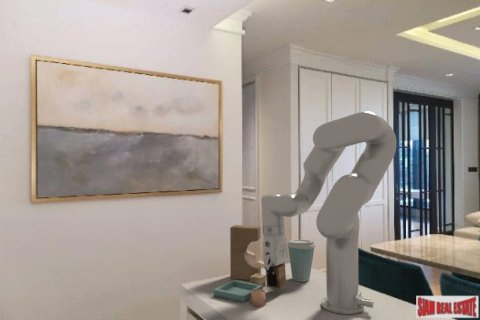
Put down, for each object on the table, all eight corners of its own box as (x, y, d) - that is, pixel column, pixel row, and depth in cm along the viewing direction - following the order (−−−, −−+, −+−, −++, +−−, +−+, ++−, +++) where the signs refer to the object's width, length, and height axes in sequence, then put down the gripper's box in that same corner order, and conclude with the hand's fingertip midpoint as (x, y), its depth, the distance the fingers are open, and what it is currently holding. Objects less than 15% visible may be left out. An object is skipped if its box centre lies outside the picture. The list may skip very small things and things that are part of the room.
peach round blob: (267, 303, 110) (267, 290, 110) (261, 308, 106) (261, 295, 106) (255, 300, 112) (255, 288, 112) (248, 305, 109) (248, 292, 109)
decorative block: (261, 277, 136) (260, 226, 137) (257, 281, 131) (257, 228, 131) (234, 274, 140) (234, 224, 140) (229, 278, 134) (229, 227, 135)
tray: (262, 292, 120) (262, 285, 120) (244, 303, 110) (244, 296, 110) (233, 285, 126) (233, 279, 126) (213, 296, 116) (213, 289, 116)
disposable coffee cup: (281, 278, 134) (281, 239, 135) (300, 273, 141) (300, 236, 141) (302, 285, 126) (301, 244, 126) (321, 279, 133) (321, 240, 133)
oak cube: (265, 286, 126) (265, 275, 126) (260, 289, 123) (260, 278, 123) (256, 284, 128) (256, 273, 128) (250, 287, 125) (250, 276, 125)
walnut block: (286, 284, 120) (285, 264, 120) (279, 288, 116) (278, 267, 116) (273, 282, 123) (272, 262, 123) (266, 287, 118) (265, 266, 119)
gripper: (271, 234, 111) (274, 292, 110) (293, 227, 125) (296, 278, 124) (251, 233, 115) (254, 289, 114) (275, 226, 129) (277, 275, 128)
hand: (276, 282), depth 119 cm, fingers closed on walnut block, 5 cm apart
